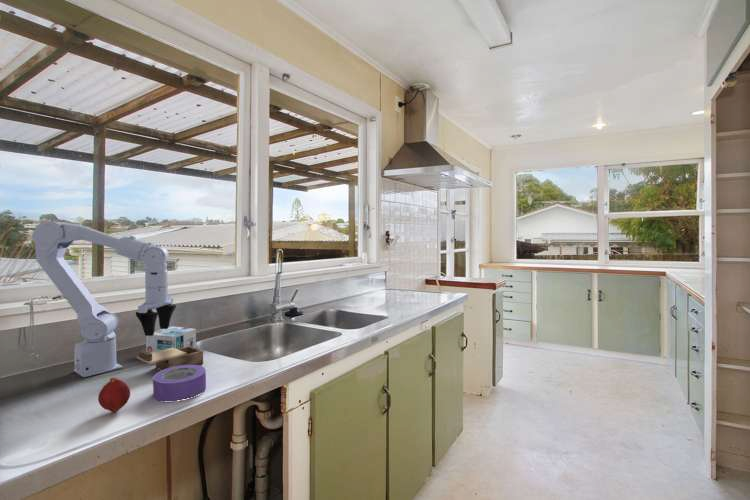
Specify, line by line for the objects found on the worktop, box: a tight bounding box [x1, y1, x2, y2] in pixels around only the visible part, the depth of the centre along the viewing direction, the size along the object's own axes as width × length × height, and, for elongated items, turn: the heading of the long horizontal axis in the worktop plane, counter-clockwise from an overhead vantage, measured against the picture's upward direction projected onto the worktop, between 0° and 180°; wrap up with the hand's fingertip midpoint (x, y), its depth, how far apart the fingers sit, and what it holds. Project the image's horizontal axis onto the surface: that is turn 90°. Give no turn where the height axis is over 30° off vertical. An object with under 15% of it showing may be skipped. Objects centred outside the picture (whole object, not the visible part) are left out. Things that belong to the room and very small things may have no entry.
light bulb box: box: [145, 325, 197, 353], centre depth 126 cm, size 11×7×11 cm
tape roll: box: [152, 365, 207, 403], centre depth 95 cm, size 12×12×5 cm
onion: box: [97, 376, 131, 414], centre depth 84 cm, size 6×6×8 cm
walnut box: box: [155, 346, 204, 371], centre depth 113 cm, size 10×8×4 cm
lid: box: [136, 348, 187, 365], centre depth 108 cm, size 10×8×2 cm
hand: (157, 331), depth 113 cm, fingers open, 7 cm apart
